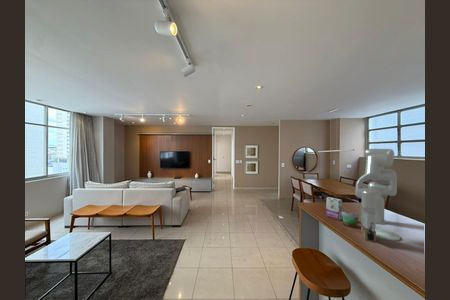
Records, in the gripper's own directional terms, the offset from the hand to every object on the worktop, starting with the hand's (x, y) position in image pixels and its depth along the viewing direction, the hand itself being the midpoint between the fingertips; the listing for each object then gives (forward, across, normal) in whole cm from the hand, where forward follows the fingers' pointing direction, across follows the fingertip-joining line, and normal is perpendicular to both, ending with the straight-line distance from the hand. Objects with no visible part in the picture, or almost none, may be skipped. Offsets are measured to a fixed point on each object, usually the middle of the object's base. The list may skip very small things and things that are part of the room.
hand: (368, 237), depth 123 cm
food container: (+1, -19, -6) cm, 20 cm away
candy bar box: (+1, -34, -12) cm, 36 cm away
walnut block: (+1, 0, 0) cm, 1 cm away
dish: (+1, -8, +13) cm, 15 cm away
